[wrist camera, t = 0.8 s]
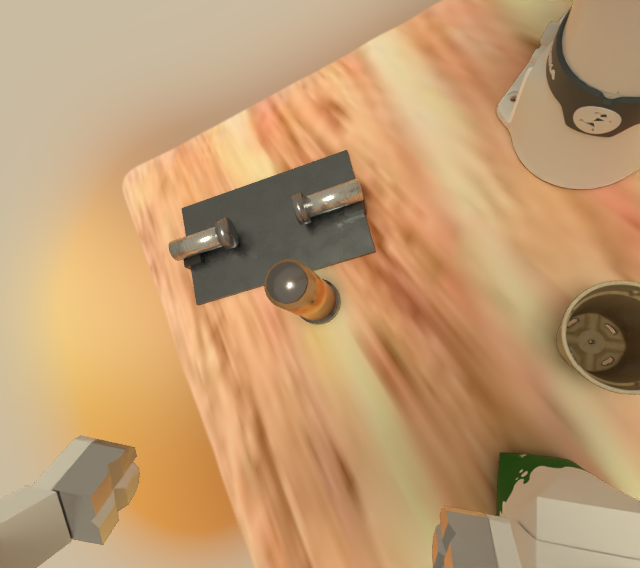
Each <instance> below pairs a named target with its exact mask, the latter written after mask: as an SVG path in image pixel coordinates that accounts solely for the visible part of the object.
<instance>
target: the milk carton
mask: <svg viewBox="0 0 640 568" xmlns="http://www.w3.org/2000/svg"><path fill="white" fill-rule="evenodd" d="M497 516H500V517H505V518H507V519H508V520H509V522H510V524H511V528H512V531H513V535H514V539H515V543H516V547H517V551H518V555H519V559H520V562H521V566H522V568H640V501H638V500H636V499H634V498H632V497H630V496H628V495H626V494H624V493H622V492H621V491H619V490H617V489H615V488H613V487H611V486H610V485H608V484H606V483H605V482H603V481H602V480H600V479H598V478H597V477H595V476H594V475H592V474H591V473H589V472H587V471H586V470H584V469H583V468H581V467H579V466H578V465H577V464H576V463H574V462H572V461H569V460H566V459H560V458H553V457H546V456H539V455H531V454H515V453H500V461H499V472H498V484H497Z"/></svg>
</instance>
